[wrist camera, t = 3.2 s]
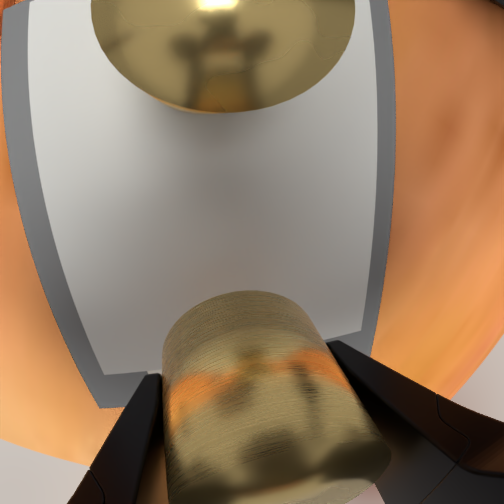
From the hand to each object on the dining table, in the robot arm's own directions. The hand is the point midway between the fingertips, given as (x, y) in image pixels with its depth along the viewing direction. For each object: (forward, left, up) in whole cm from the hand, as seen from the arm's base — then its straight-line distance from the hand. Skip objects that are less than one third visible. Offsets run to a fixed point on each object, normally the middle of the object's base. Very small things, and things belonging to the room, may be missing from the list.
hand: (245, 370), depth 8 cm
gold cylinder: (0, 0, -1) cm, 1 cm away
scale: (0, -3, -7) cm, 8 cm away
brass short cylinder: (0, -9, -3) cm, 9 cm away
